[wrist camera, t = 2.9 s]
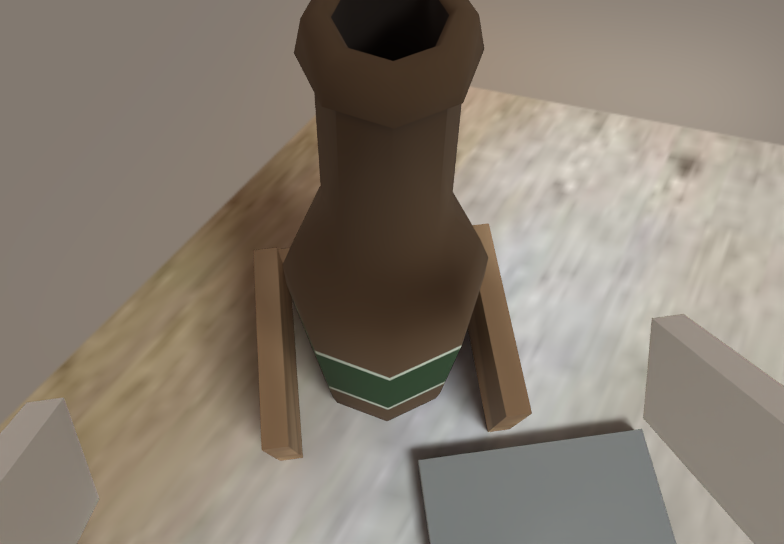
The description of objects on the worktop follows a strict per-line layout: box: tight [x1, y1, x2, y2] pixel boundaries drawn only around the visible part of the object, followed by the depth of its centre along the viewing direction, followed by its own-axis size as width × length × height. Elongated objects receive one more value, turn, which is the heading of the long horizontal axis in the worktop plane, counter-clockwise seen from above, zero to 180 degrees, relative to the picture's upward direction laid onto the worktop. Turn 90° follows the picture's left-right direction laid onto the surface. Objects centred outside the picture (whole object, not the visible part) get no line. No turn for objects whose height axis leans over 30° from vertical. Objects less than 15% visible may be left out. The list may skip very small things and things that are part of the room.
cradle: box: [253, 224, 532, 461], centre depth 30 cm, size 12×11×5 cm
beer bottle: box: [283, 0, 488, 421], centre depth 22 cm, size 8×8×24 cm
